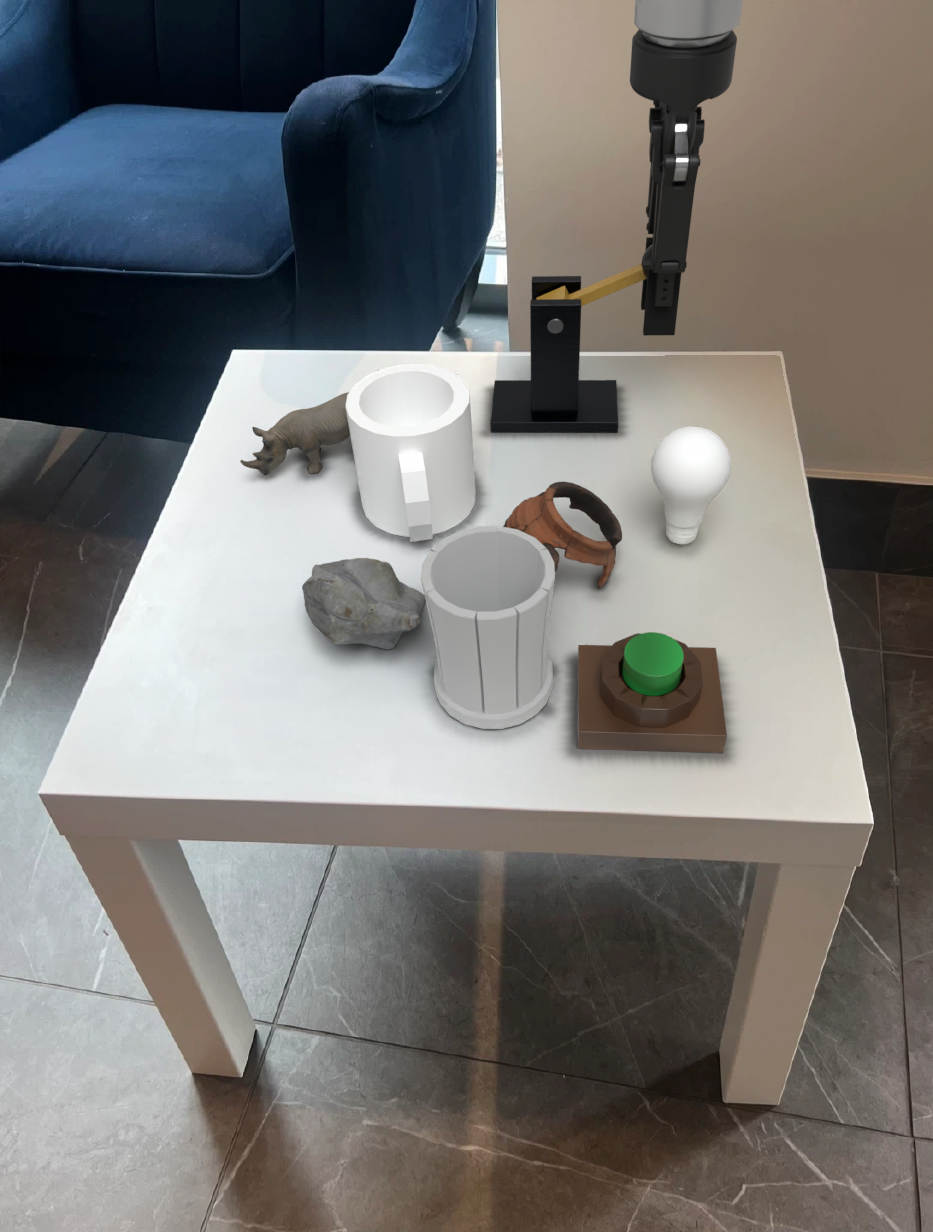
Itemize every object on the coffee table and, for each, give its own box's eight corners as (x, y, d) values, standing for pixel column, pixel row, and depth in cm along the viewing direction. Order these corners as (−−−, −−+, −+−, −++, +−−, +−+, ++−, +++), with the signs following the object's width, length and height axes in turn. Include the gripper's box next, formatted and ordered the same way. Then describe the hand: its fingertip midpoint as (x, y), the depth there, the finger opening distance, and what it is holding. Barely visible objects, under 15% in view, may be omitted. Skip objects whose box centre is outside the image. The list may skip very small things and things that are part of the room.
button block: (712, 665, 75) (719, 628, 72) (723, 753, 69) (731, 718, 66) (577, 662, 76) (579, 626, 73) (577, 748, 70) (579, 714, 67)
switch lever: (688, 261, 87) (674, 225, 85) (691, 282, 85) (677, 246, 83) (550, 320, 93) (533, 287, 90) (549, 341, 90) (532, 308, 88)
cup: (393, 698, 74) (373, 583, 66) (453, 617, 80) (442, 501, 71) (519, 750, 70) (517, 636, 62) (574, 662, 76) (578, 545, 67)
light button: (678, 652, 71) (681, 632, 70) (682, 697, 68) (685, 677, 67) (621, 651, 72) (623, 631, 70) (623, 695, 69) (625, 675, 67)
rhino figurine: (239, 474, 94) (224, 421, 89) (373, 427, 97) (365, 373, 93) (254, 498, 91) (239, 445, 87) (391, 449, 95) (383, 395, 91)
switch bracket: (615, 390, 100) (623, 269, 90) (617, 432, 95) (626, 310, 85) (495, 390, 101) (490, 271, 91) (490, 432, 96) (485, 311, 87)
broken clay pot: (505, 525, 87) (554, 456, 82) (592, 590, 87) (647, 525, 82) (451, 590, 78) (502, 516, 73) (548, 663, 78) (607, 594, 73)
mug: (490, 554, 84) (485, 453, 77) (369, 571, 84) (351, 470, 76) (467, 456, 94) (461, 356, 86) (358, 470, 93) (342, 371, 85)
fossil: (462, 621, 79) (456, 547, 73) (401, 702, 74) (389, 629, 68) (347, 576, 83) (332, 503, 78) (281, 649, 78) (260, 577, 72)
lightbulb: (665, 507, 87) (677, 401, 79) (730, 533, 85) (750, 426, 76) (630, 548, 84) (639, 442, 76) (696, 576, 81) (713, 469, 73)
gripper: (628, -5, 79) (612, 274, 96) (637, 72, 67) (617, 372, 84) (726, -8, 78) (692, 273, 95) (751, 69, 67) (708, 372, 84)
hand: (657, 319), depth 90 cm, fingers closed on switch lever, 4 cm apart
